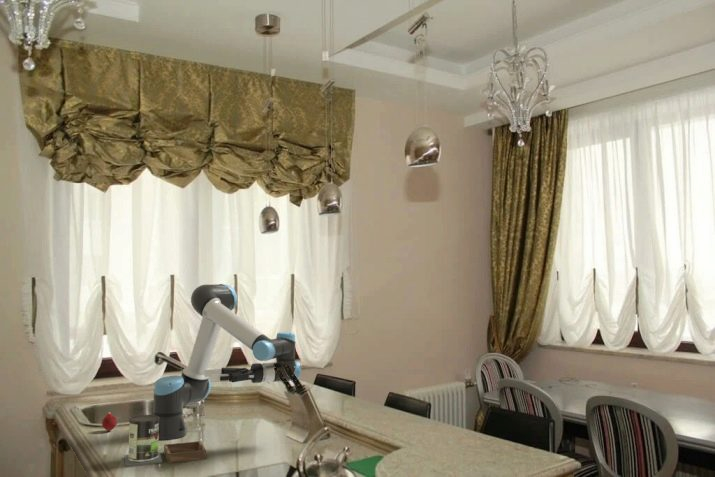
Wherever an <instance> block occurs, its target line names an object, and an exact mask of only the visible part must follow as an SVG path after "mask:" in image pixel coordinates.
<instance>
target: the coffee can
mask: <svg viewBox="0 0 715 477" xmlns="http://www.w3.org/2000/svg"><path fill="white" fill-rule="evenodd" d="M159 418H160V417H159V416H156V415H153V414H144V415H143V414H142V415H136V416H132V417H130V418H129V419H128V422H129V427H128V428H129V431H128V433H129V434H128V453H127V455H128V460H129V461H133V462H146V461H151V460H154V459H156V458H158V452H159V440H160V439H159Z"/></svg>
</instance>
